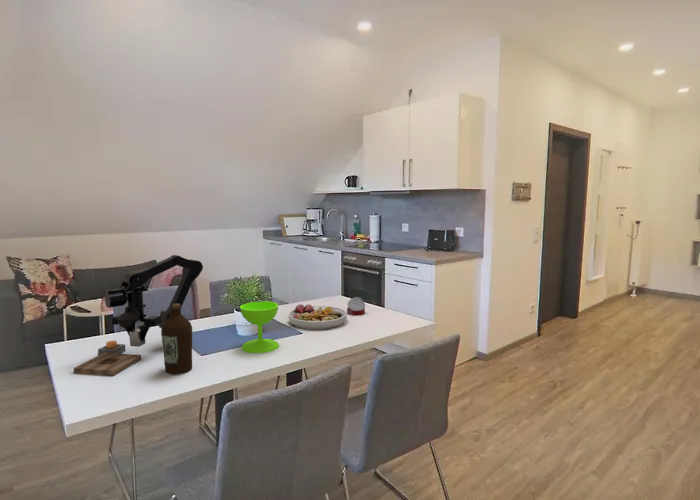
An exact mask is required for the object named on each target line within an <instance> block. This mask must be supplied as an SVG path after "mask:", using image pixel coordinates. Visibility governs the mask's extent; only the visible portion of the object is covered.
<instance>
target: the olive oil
mask: <svg viewBox="0 0 700 500" xmlns="http://www.w3.org/2000/svg"><path fill="white" fill-rule="evenodd" d="M160 331H161V333H160V335H161V341H162V351H163V363H164V371H165V373H166V374H167V375H173V376H174V375H175V376H176V375H183V374H186V373H188V372H191V371H192V369H193V326H192V323H191V322H190V320H189V319H188V318H187V317H185V316H184V315H183V314H182V307H180V304H178V303H176V304H172V305H171V316H170V317H169V318H168V319H167V320H166V321H165V323H164V324H163V326H162V329H161V330H160Z"/></svg>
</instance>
